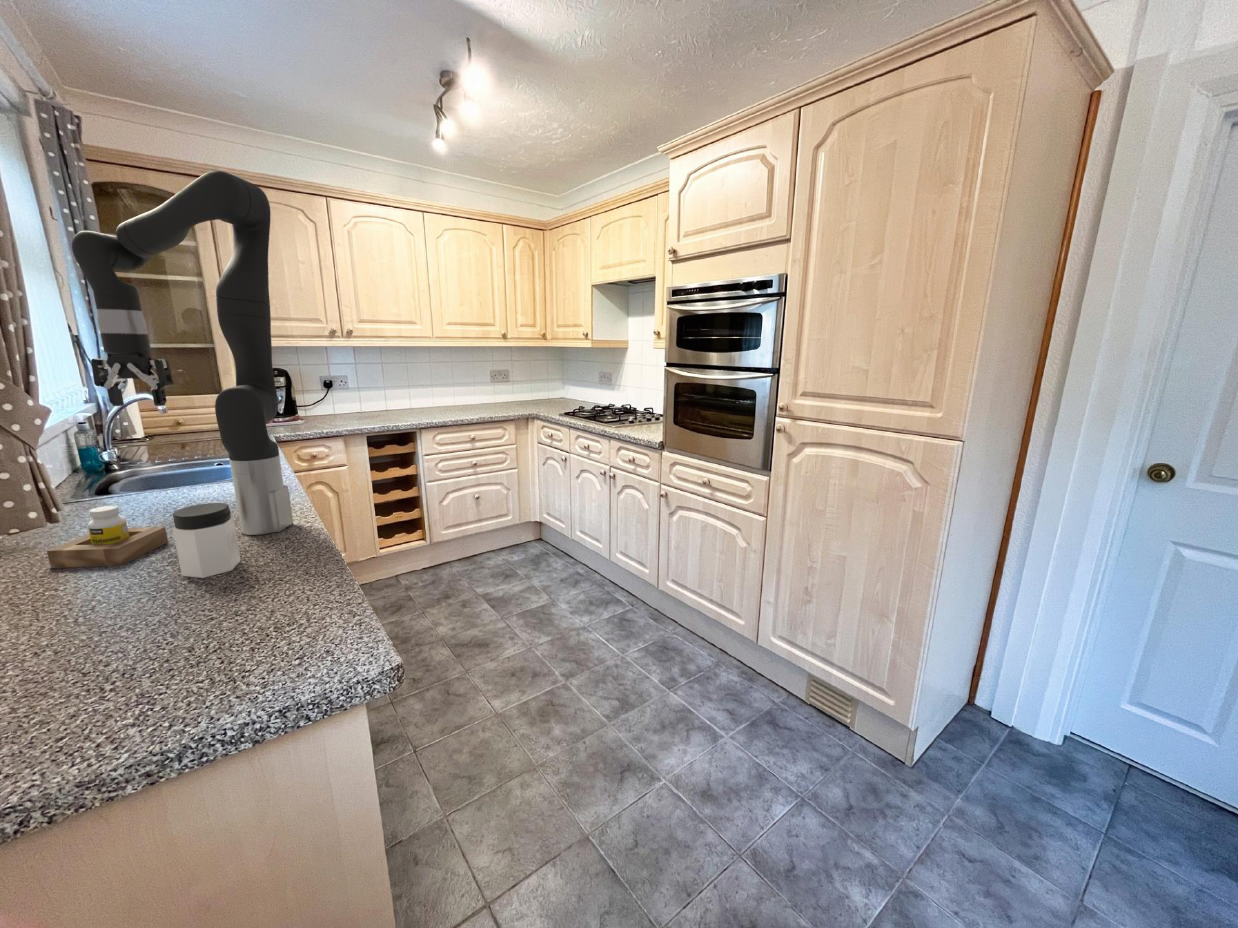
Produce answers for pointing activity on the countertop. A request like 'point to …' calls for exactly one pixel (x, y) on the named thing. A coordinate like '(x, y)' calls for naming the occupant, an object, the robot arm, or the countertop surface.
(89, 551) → the socket block
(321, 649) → the countertop surface
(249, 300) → the robot arm
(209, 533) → the jar
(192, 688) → the countertop surface
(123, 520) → the supplement bottle
